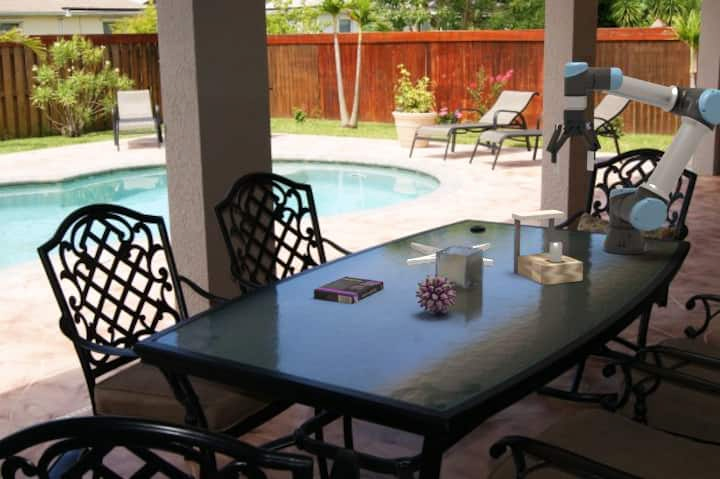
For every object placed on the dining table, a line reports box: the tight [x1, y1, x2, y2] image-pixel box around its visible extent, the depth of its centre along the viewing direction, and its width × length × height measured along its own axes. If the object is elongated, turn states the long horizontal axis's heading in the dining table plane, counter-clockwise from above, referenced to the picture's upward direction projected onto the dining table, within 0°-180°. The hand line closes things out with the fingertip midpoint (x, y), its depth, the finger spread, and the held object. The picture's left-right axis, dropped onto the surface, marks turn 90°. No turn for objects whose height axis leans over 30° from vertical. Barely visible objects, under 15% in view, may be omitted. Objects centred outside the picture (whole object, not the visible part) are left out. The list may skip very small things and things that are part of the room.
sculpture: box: [406, 242, 494, 267], centre depth 337 cm, size 30×3×30 cm
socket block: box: [517, 252, 584, 286], centre depth 303 cm, size 14×17×6 cm
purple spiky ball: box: [415, 272, 458, 315], centre depth 263 cm, size 12×12×12 cm
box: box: [313, 276, 385, 305], centre depth 288 cm, size 14×4×20 cm
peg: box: [549, 241, 563, 264], centre depth 300 cm, size 4×4×12 cm
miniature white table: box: [511, 209, 565, 274], centre depth 309 cm, size 16×6×20 cm, turn 110°
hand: (573, 171), depth 318 cm, fingers open, 13 cm apart
